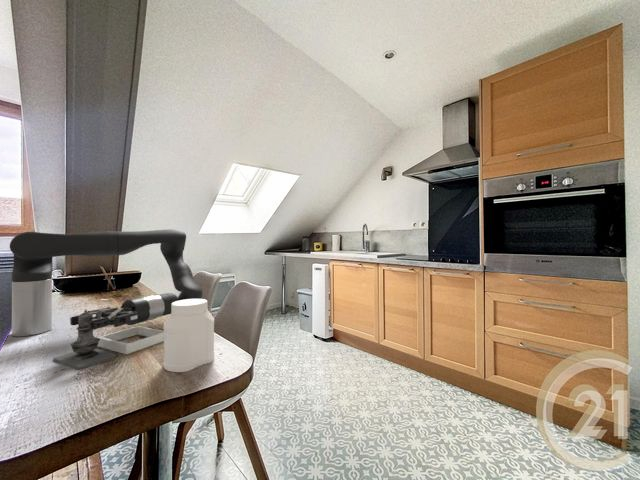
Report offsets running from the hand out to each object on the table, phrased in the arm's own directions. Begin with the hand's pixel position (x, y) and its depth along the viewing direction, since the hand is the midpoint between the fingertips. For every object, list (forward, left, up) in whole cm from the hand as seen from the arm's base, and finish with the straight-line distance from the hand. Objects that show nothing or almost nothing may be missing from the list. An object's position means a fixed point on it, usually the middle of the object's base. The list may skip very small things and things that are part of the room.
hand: (79, 323), depth 70 cm
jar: (+26, +11, -10) cm, 30 cm away
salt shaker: (0, +1, -9) cm, 9 cm away
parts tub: (0, +13, -9) cm, 16 cm away
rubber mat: (0, +1, -9) cm, 9 cm away
